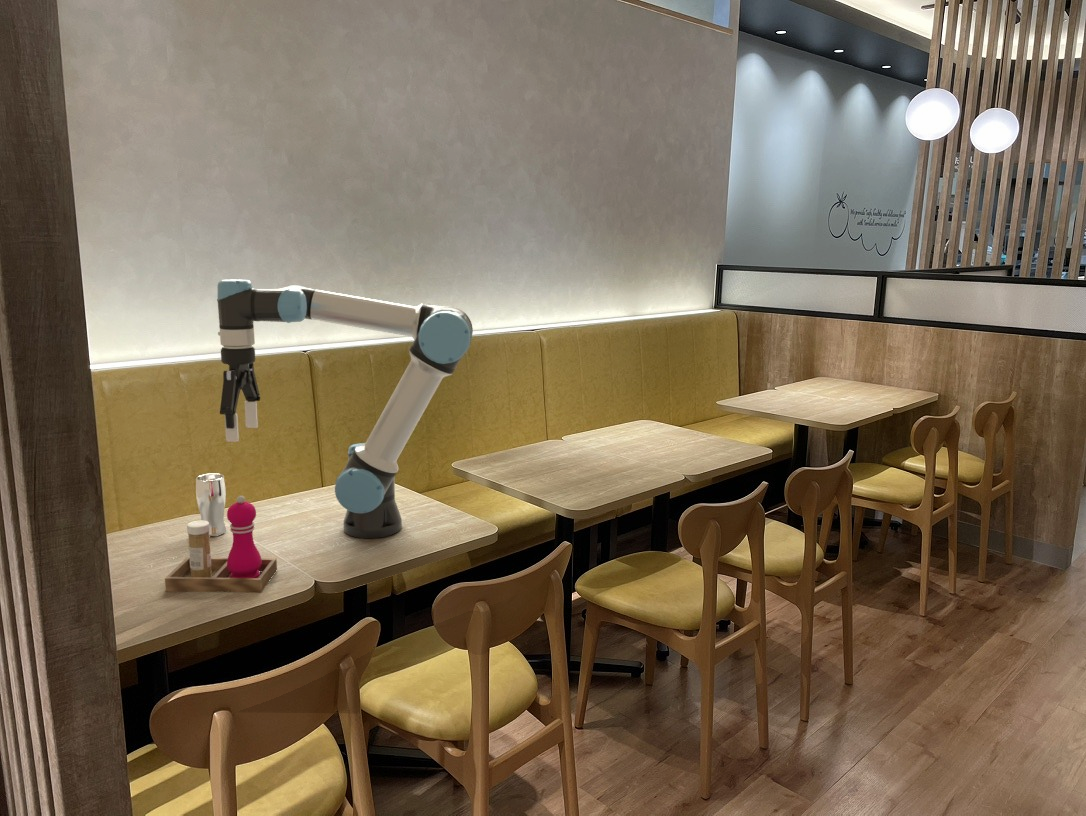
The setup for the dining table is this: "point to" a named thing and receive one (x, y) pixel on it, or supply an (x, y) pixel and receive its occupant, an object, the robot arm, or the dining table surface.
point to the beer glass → (212, 501)
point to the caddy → (219, 578)
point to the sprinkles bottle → (199, 548)
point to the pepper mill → (243, 541)
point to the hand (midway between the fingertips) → (242, 434)
